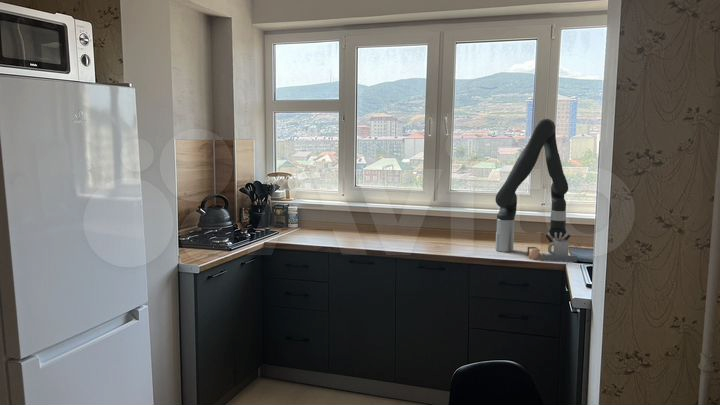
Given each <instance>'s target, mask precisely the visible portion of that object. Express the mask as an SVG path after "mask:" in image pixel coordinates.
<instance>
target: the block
mask: <svg viewBox="0 0 720 405" xmlns="http://www.w3.org/2000/svg"><path fill="white" fill-rule="evenodd" d="M530 248H537V249H539V248H538V247H536V246H527V255H528V256H529V249H530Z"/></svg>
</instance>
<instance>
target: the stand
mask: <svg viewBox="0 0 720 405" xmlns="http://www.w3.org/2000/svg"><path fill="white" fill-rule="evenodd" d="M541 254H542V255H541V257H542V261H543V260H550V261H549V262H566V261H567V262H569V263H570V262H572V263H577V262H578V255H577V254H572V255H569V254H568V255H551V254H550V253H549V254H548V253H544V252H542V253H541Z"/></svg>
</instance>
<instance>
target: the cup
mask: <svg viewBox="0 0 720 405" xmlns="http://www.w3.org/2000/svg"><path fill="white" fill-rule="evenodd" d="M553 241H554V242H550V243H549V244H548V246H547V251H548V253H549V255H569V251H570V250H569V248H570V241H569V239H568V240H565V239H564V238H561V241H559V239H555V240H553ZM552 246H553V250H552Z"/></svg>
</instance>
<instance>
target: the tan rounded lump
mask: <svg viewBox="0 0 720 405" xmlns="http://www.w3.org/2000/svg"><path fill="white" fill-rule="evenodd" d="M537 248H538V247H536V248H530V249H529V255H528V259H529V260H531V259H532V261H538V259H539V260H540V252H541V251H540V248H538V249H537Z"/></svg>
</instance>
